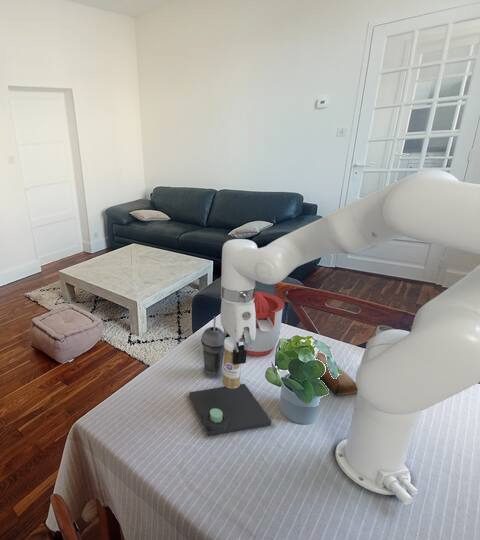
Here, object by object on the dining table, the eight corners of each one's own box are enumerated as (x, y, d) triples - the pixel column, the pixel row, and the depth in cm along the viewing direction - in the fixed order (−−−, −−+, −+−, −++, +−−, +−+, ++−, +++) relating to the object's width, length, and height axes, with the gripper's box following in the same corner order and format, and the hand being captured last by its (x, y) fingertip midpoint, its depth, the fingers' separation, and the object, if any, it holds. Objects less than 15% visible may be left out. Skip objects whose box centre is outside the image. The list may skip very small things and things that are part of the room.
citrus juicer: (238, 365, 105) (241, 308, 97) (224, 335, 121) (225, 284, 114) (289, 363, 104) (296, 305, 96) (268, 332, 120) (273, 281, 113)
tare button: (224, 421, 81) (224, 416, 81) (212, 423, 81) (212, 418, 80) (219, 412, 84) (219, 407, 83) (207, 414, 84) (207, 409, 83)
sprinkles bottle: (220, 387, 88) (222, 344, 83) (223, 376, 92) (225, 334, 87) (239, 391, 86) (242, 347, 81) (241, 379, 90) (244, 337, 85)
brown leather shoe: (365, 390, 90) (356, 374, 87) (341, 404, 91) (332, 389, 88) (320, 352, 107) (312, 337, 104) (301, 364, 107) (292, 350, 105)
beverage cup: (223, 365, 105) (224, 308, 98) (227, 380, 98) (230, 321, 91) (199, 365, 106) (199, 309, 99) (202, 380, 99) (202, 321, 92)
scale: (271, 427, 82) (272, 417, 81) (208, 438, 80) (208, 428, 79) (244, 387, 95) (244, 378, 94) (189, 396, 94) (189, 387, 93)
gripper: (272, 305, 72) (265, 376, 78) (236, 276, 87) (233, 337, 94) (238, 310, 71) (235, 380, 77) (208, 280, 87) (207, 340, 93)
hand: (234, 356), depth 85 cm, fingers closed on sprinkles bottle, 4 cm apart
